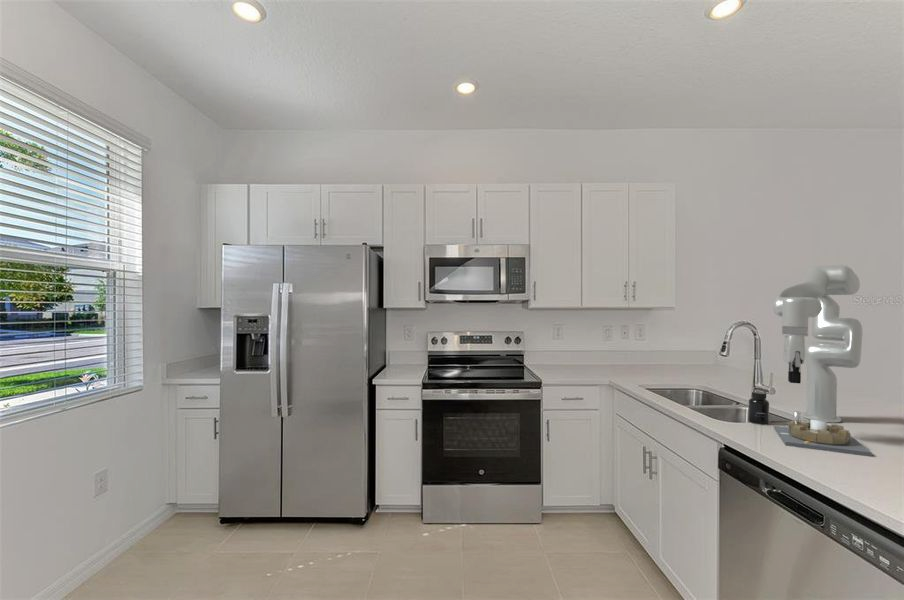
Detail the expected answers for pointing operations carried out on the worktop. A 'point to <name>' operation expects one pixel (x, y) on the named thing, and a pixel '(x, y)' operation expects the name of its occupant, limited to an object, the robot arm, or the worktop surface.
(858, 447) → the nut base
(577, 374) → the worktop surface
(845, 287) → the robot arm
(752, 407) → the supplement bottle
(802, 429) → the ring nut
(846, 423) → the worktop surface
